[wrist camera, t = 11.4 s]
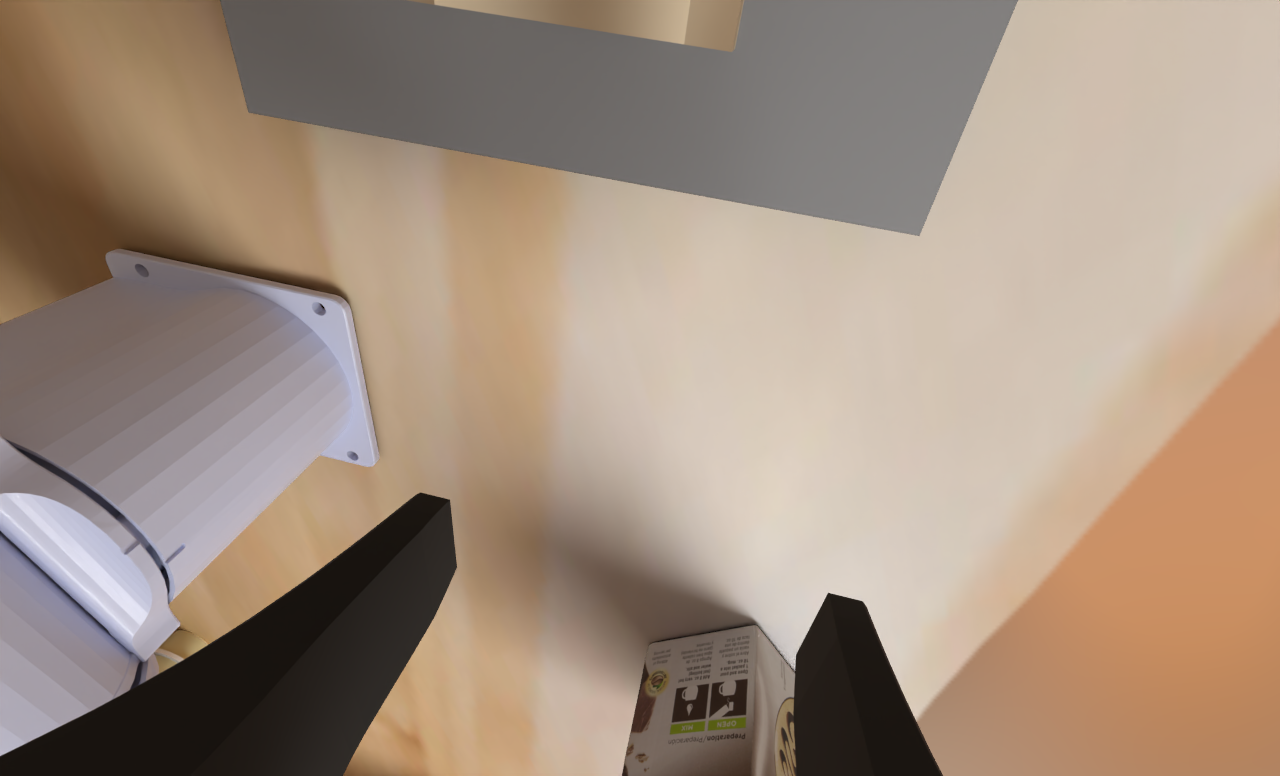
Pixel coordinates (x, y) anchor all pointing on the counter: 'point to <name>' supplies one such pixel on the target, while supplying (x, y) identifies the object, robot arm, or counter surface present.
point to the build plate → (648, 89)
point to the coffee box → (714, 708)
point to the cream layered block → (177, 648)
